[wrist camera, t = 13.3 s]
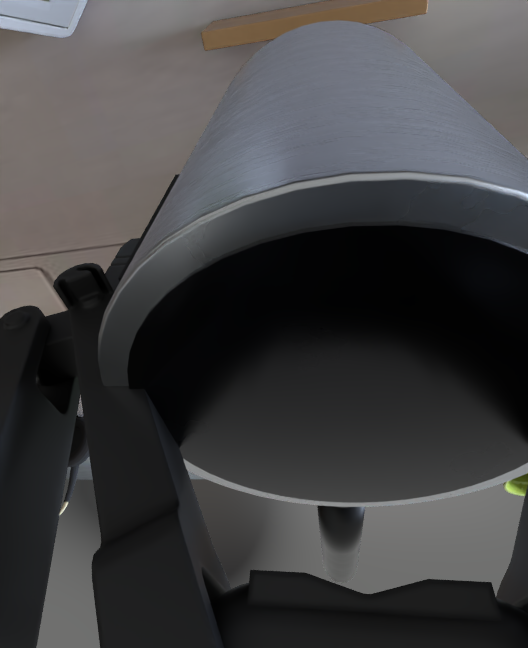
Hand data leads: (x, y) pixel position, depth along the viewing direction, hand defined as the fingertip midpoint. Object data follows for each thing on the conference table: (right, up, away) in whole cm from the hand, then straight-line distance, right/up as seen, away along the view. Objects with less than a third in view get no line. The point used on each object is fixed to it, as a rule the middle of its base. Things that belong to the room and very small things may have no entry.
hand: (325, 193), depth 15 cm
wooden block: (+1, +17, +12) cm, 21 cm away
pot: (-1, +6, -2) cm, 6 cm away
